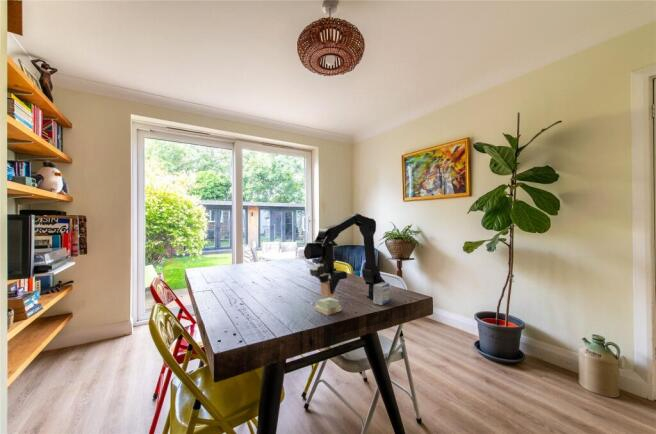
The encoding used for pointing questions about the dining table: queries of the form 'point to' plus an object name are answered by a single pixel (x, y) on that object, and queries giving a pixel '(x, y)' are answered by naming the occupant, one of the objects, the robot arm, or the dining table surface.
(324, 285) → the terracotta block
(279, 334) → the dining table surface
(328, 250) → the robot arm
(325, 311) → the maple slab
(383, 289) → the medicine box
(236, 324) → the dining table surface
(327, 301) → the sage slab
